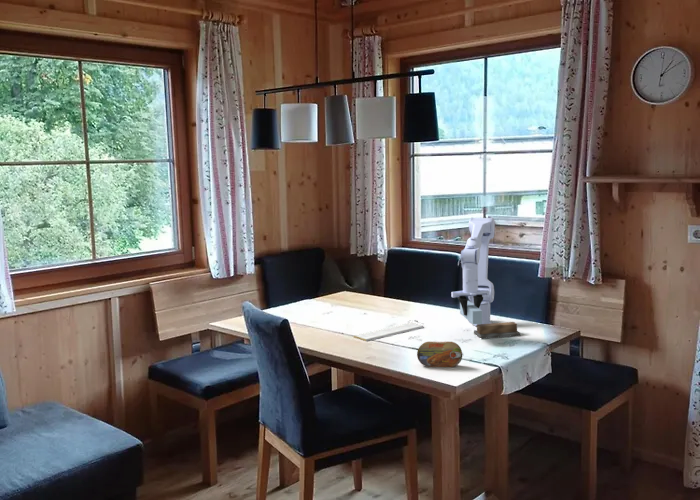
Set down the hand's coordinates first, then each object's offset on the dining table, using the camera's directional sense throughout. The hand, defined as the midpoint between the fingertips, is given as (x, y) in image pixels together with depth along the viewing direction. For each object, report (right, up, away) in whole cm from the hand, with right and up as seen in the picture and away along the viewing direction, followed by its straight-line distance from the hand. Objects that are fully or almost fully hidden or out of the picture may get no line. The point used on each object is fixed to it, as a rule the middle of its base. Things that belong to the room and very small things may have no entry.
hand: (470, 314), depth 260 cm
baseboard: (-31, -9, +13) cm, 35 cm away
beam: (0, -1, 0) cm, 2 cm away
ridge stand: (+11, -8, +3) cm, 14 cm away
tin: (-16, -14, -33) cm, 39 cm away
